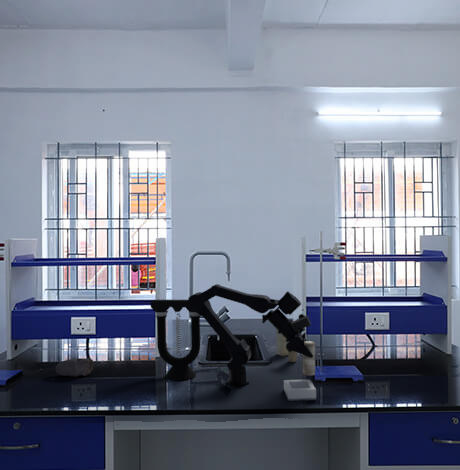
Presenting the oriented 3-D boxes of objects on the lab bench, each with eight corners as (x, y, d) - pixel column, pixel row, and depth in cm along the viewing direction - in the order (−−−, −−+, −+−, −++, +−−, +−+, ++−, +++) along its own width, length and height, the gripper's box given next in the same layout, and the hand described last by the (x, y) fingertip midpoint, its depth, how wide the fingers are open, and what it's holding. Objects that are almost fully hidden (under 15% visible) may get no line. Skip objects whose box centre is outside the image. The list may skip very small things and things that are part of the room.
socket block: (288, 400, 139) (288, 390, 139) (283, 390, 148) (283, 380, 148) (316, 399, 139) (316, 389, 139) (310, 389, 148) (309, 379, 148)
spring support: (205, 371, 170) (204, 298, 170) (200, 381, 158) (198, 303, 158) (156, 369, 172) (155, 297, 172) (147, 380, 160) (146, 302, 160)
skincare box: (282, 356, 188) (282, 329, 188) (276, 354, 192) (275, 327, 192) (292, 354, 192) (292, 327, 192) (286, 351, 196) (286, 326, 195)
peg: (300, 372, 150) (299, 342, 150) (309, 370, 153) (309, 340, 152) (308, 376, 147) (308, 345, 146) (317, 373, 149) (317, 343, 149)
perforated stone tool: (52, 377, 165) (52, 360, 165) (59, 373, 170) (58, 356, 170) (89, 378, 164) (88, 360, 164) (94, 373, 169) (94, 356, 169)
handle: (284, 359, 183) (284, 325, 183) (299, 359, 183) (298, 325, 183) (286, 363, 179) (285, 328, 179) (301, 362, 178) (300, 328, 178)
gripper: (295, 313, 141) (328, 347, 139) (299, 303, 159) (328, 334, 157) (272, 335, 143) (305, 369, 141) (278, 323, 161) (307, 353, 159)
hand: (312, 355), depth 149 cm, fingers closed on peg, 4 cm apart
